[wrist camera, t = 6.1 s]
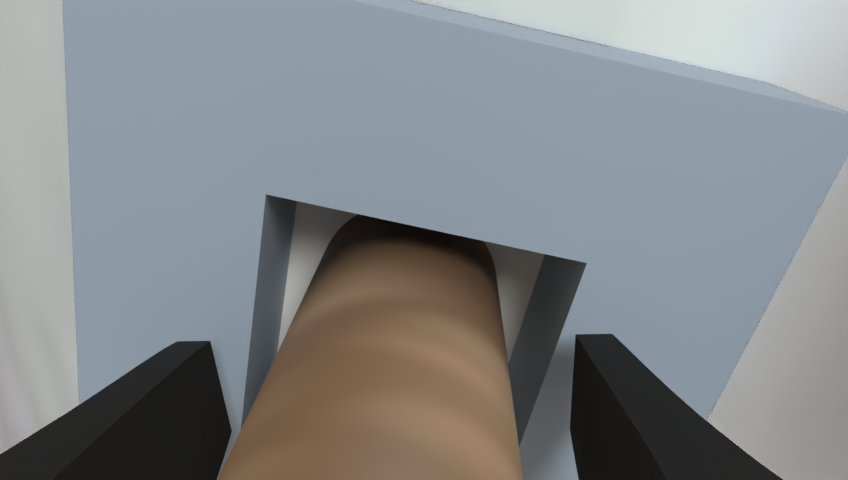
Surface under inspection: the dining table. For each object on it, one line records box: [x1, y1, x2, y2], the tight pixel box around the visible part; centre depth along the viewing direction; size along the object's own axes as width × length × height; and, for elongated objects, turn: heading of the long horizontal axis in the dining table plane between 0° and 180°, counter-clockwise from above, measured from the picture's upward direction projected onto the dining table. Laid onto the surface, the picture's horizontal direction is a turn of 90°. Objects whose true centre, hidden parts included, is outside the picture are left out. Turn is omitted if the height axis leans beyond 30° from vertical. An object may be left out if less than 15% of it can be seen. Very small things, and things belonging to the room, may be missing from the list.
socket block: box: [62, 0, 848, 480], centre depth 12 cm, size 12×12×3 cm
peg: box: [218, 214, 523, 480], centre depth 10 cm, size 4×4×8 cm
